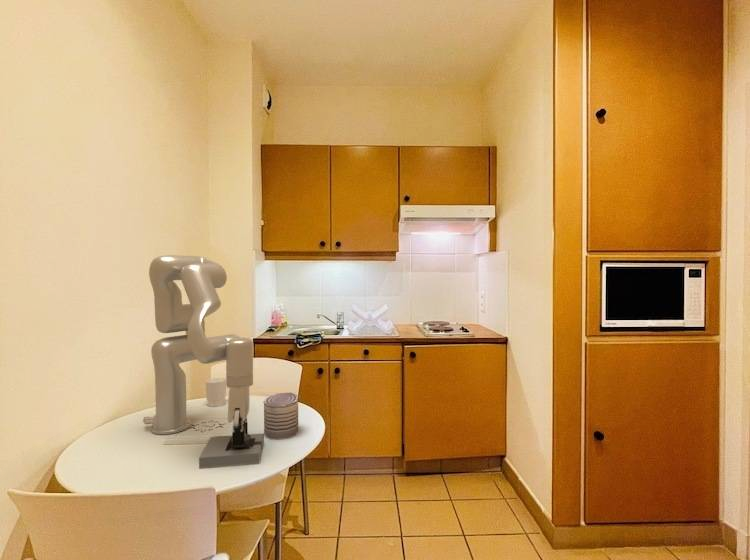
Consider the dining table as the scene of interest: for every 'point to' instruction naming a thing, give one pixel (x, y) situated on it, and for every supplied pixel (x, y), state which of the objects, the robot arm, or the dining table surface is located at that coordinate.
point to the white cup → (216, 391)
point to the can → (281, 416)
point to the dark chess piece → (246, 439)
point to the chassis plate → (231, 452)
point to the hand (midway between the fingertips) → (240, 439)
